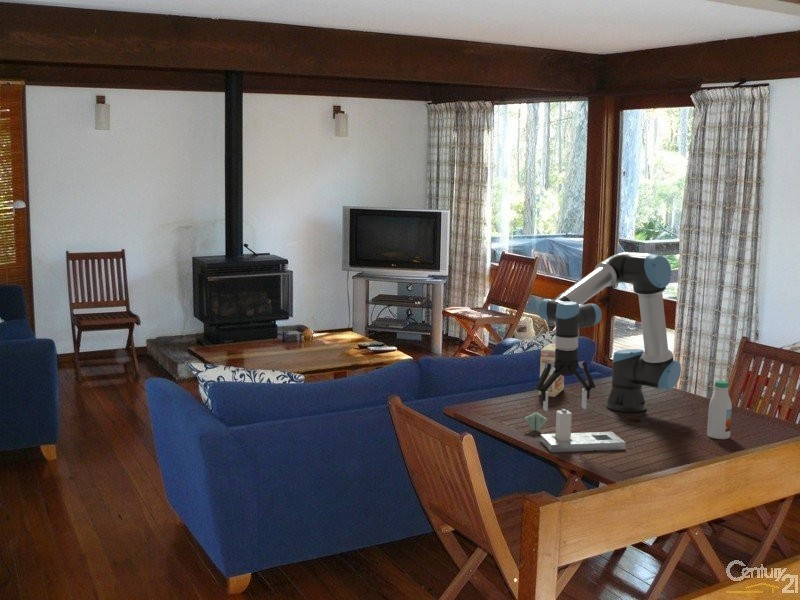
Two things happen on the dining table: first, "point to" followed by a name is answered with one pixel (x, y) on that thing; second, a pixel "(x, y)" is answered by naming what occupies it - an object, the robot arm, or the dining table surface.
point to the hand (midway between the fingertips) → (564, 409)
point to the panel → (584, 442)
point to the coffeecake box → (549, 356)
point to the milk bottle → (720, 412)
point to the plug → (563, 425)
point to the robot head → (535, 420)
